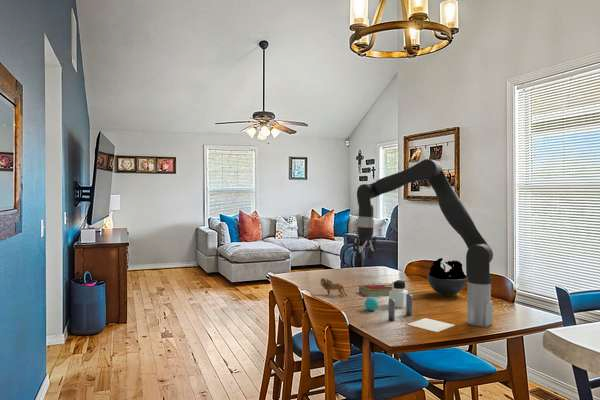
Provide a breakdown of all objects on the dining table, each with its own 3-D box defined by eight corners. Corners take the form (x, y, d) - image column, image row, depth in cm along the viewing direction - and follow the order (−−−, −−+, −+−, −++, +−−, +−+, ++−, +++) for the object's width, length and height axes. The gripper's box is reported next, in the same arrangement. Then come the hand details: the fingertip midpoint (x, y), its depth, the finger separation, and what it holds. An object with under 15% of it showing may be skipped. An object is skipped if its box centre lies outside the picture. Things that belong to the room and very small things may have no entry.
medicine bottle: (407, 305, 226) (408, 280, 225) (403, 308, 219) (403, 282, 219) (393, 303, 229) (394, 278, 229) (388, 306, 223) (389, 281, 223)
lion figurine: (318, 295, 245) (319, 278, 245) (321, 293, 250) (321, 276, 250) (346, 297, 241) (346, 280, 240) (348, 295, 246) (348, 278, 245)
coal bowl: (469, 300, 236) (470, 263, 235) (428, 298, 240) (429, 261, 239) (463, 292, 255) (464, 257, 255) (426, 290, 259) (426, 256, 259)
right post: (413, 314, 208) (413, 294, 207) (409, 316, 206) (410, 295, 206) (408, 313, 210) (408, 293, 209) (404, 314, 208) (405, 294, 208)
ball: (380, 310, 215) (380, 297, 215) (372, 312, 211) (372, 299, 211) (370, 308, 219) (370, 295, 219) (362, 310, 215) (362, 297, 215)
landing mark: (455, 325, 192) (455, 325, 192) (437, 332, 182) (437, 331, 182) (425, 318, 202) (425, 318, 202) (406, 324, 193) (406, 324, 193)
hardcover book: (359, 292, 254) (359, 285, 254) (394, 290, 260) (394, 283, 260) (368, 297, 243) (368, 289, 242) (404, 295, 249) (404, 287, 248)
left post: (395, 320, 199) (396, 299, 199) (392, 321, 197) (392, 300, 197) (390, 319, 201) (391, 298, 200) (387, 320, 199) (387, 299, 199)
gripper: (361, 227, 216) (360, 262, 216) (381, 226, 225) (379, 259, 226) (349, 225, 221) (348, 259, 222) (369, 224, 231) (367, 257, 231)
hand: (364, 259), depth 224 cm, fingers open, 8 cm apart
